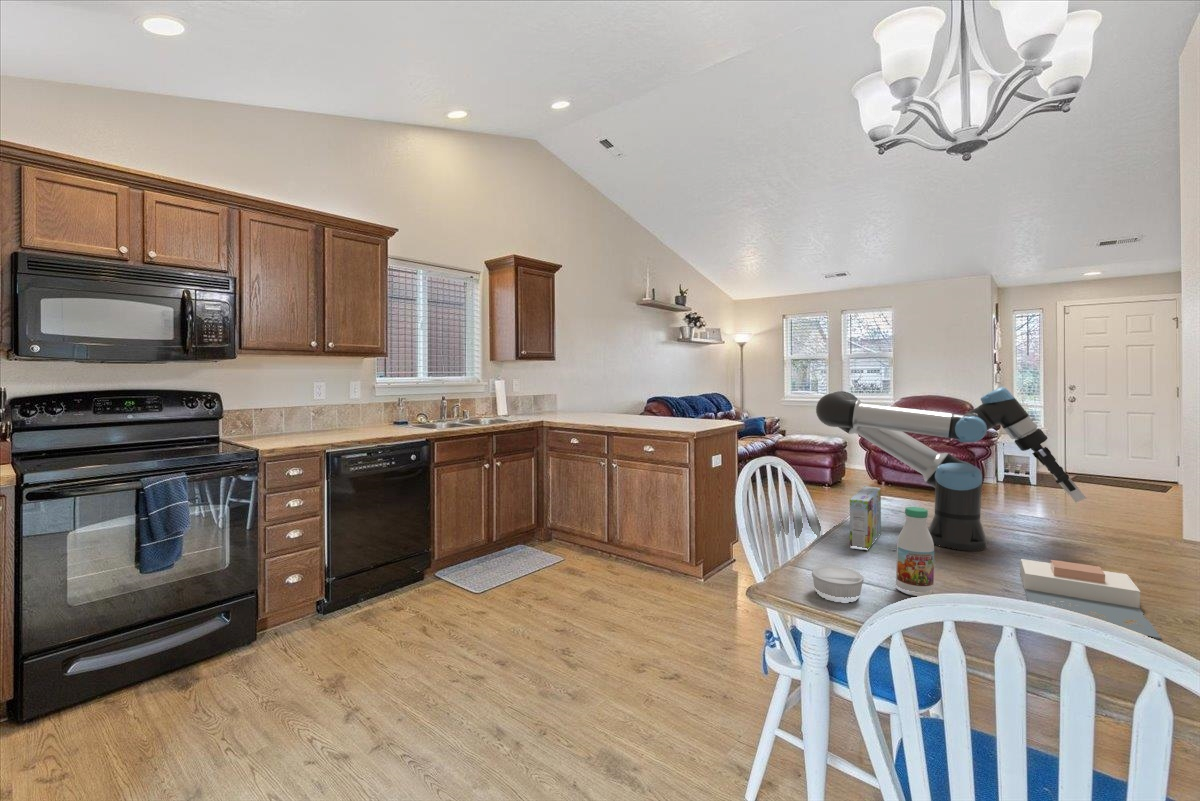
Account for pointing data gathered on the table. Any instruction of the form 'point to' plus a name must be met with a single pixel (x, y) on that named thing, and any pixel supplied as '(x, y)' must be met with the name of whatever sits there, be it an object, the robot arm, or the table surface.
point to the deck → (1080, 585)
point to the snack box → (865, 517)
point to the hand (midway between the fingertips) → (1076, 496)
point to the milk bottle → (915, 553)
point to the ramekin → (837, 581)
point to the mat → (1098, 610)
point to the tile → (1077, 571)
